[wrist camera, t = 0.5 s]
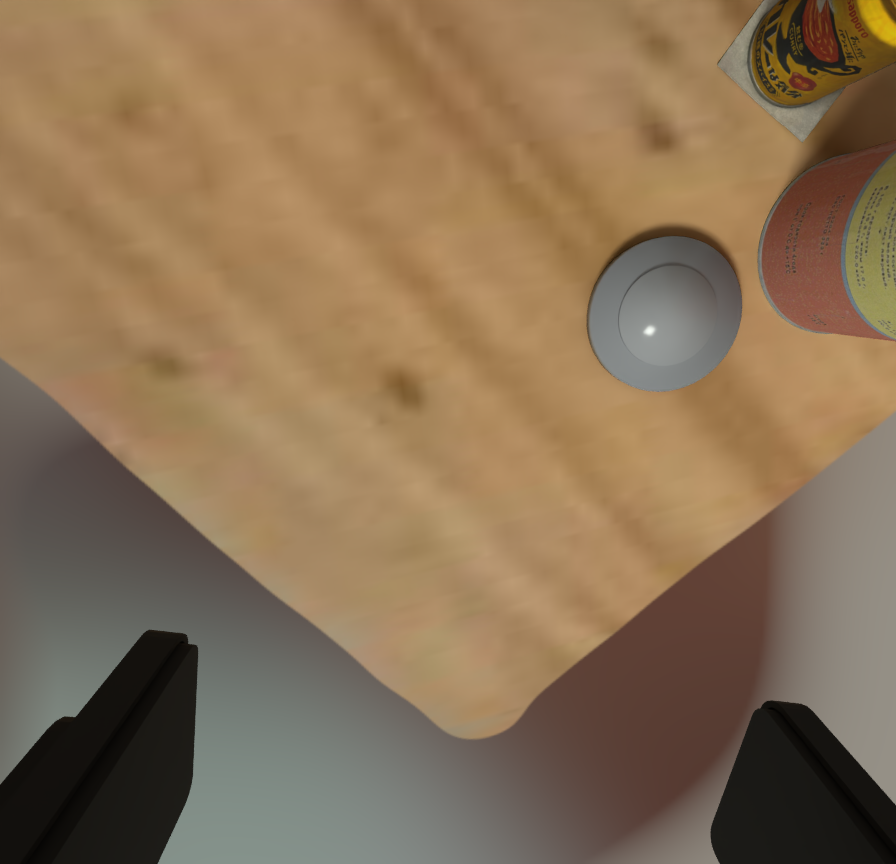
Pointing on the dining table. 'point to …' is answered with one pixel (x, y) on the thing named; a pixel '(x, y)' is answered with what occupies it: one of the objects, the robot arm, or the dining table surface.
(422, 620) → the dining table surface
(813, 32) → the condiment
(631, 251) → the saucer
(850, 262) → the canned food
